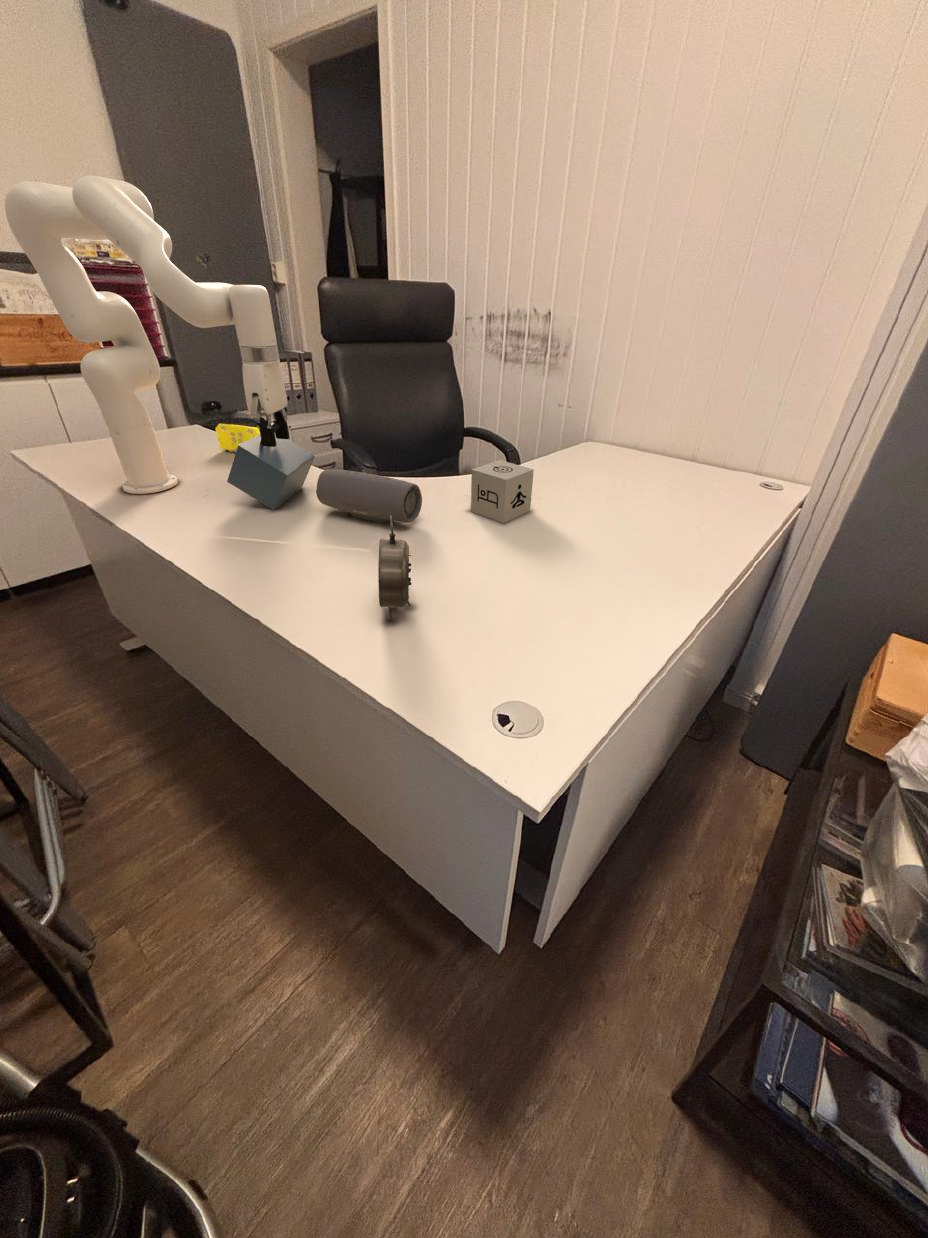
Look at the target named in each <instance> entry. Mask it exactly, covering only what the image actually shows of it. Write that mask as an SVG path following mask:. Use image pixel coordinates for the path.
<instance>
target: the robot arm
mask: <svg viewBox="0 0 928 1238" xmlns="http://www.w3.org/2000/svg"><path fill="white" fill-rule="evenodd" d="M4 209H5V210H4V211H5V217H6V220H7V222H8V225H9V228H10V230H11V232H12V234H13V236H14V238H15V240H16V242H17V243H18V245H19V246H20V248H21V249H22V251H23V253H24V254H25V255H26V257H27V258H28V260H29V261H30V263H31V265H32V266H33V267H34V269H35V271H36V273H37V274H38V276H39V278H40V281H41V282H42V285H43V286H44V288H45V290H46V292H47V294H48V296H49V298H50V300H51V302H52V304H53V306H54V308H55V310H56V311H57V313H58V316H59V317H60V320H61V321H62V324H63V325H64V327H65V328H66V330H67V331H68V333H69V334H70V335H71V336H72V337H73V338H74V339H76V340H77V341H80V342H83V343H101V342H109V341H111V342H112V344H113V346H112V347H103V348H98V349H94V350H92V351H90V352H88V353H86V354H85V355H84V356H83V357H82V359H81V360H80V373H81V375H82V378H83V380H84V383H86V385H87V387H88V389H89V390H90V392H91V394H92V396H93V397H94V400H95V401H96V404H97V406H98V407H99V410H100V412H101V415H102V417H103V419H104V423H105V425H106V427H107V430H108V433H109V436H110V438H111V441H112V443H113V447H114V449H115V452H116V454H117V456H118V459H119V462H120V465H121V468H122V470H123V473H124V476H125V478H126V480H125V481H123V482H122V484H121V487H122V490H123V491H124V492H125V493H127V494H135V495H144V494H145V495H148V494H155V493H160V492H163V491H167V490H170V489H171V488H174V487H175V486H176V485H177V484H178V481H179V480H178V478H177V477H176V475H173V474H169V471H168V467H167V465H166V462H165V458H164V455H163V452H162V449H161V445H160V443H159V440H158V437H157V434H156V431H155V428H154V424H153V422H152V421H153V420H152V419H151V416H150V413H149V411H148V409H147V407H146V405H145V404H144V403H143V401H141V400H140V398H139V397H138V396H137V395H136V393H135V392H138V391H142V390H145V389H149V388H152V387H154V386H156V385H157V384H158V383H159V381H160V379H161V375H162V374H161V368H160V367H161V366H160V363H159V359H158V358H157V355H156V354H155V351H154V349H153V346H152V343H151V342H150V340H149V337H148V335H147V333H146V331H145V329H144V326H143V324H142V322H141V320H140V318H139V316H138V314H137V311H135V309H134V307H132V304H130V303H129V301H128V300H126V299H125V298H124V297H123V296H121V295H120V294H117V293H115V292H111V291H104V290H103V291H96V289H95V287H94V286H93V284H92V281H91V280H90V278H89V276H88V273H87V271H86V270H85V267H84V266H83V264H82V263H81V262H80V260H79V259H78V258H77V257H76V255H75V254H74V253H73V251H71V250H70V248H68V247H67V246H66V245H65V244H64V243H63V242H62V239H72V240H73V239H74V240H88V241H102V240H103V241H104V240H108V241H110V242H111V243H112V244H113V245H115V247H116V248H118V249H119V250H120V251H122V252H123V253H124V254H125V255H126V256H127V257H128V258H129V259H131V260H132V261H133V262H134V263H135V264H137V265H138V267H140V268H141V270H142V273H143V277H144V278H145V280H146V282H147V284H148V285H149V287H150V289H151V291H152V292H153V294H155V296H156V297H157V299H159V300H160V301H161V302H162V303H163V304H164V305H165V306H167V308H169V309H170V310H171V311H172V312H174V313H175V314H176V315H177V316H178V317H180V318H181V319H183V320H184V321H185V322H186V323H188V324H190V325H192V326H194V327H197V328H201V329H209V328H217V327H227V326H233V325H234V326H235V332H236V336H237V337H236V338H237V342H238V347H239V351H240V357H241V362H242V368H241V369H242V383H243V389H244V396H245V403H246V408H247V411H248V413H249V416H250V418H251V419H252V420H253V421H254V423H255V425H256V427H258V428H259V431H260V435H261V440H262V445H263V446H270V447H275V446H276V445H277V444H276V439H275V435H276V438H277V439H289V440H290V433H289V425H288V415H287V412H288V405H289V399H288V396H287V390H286V385H285V380H284V376H283V371H282V368H281V365H280V363H281V359H280V354H279V347H278V341H277V336H276V330H275V324H274V317H273V312H272V306H271V300H270V295H269V292H268V289H266V287H264V286H262V285H259V284H258V285H257V284H232V283H226V282H195V281H194V280H193V279H191V278H189V277H188V275H186V274H185V273H184V272H183V271H182V270H181V269H179V268H178V267H177V266H176V265H175V264H174V263H172V261H171V260H170V259H171V257H172V253H173V242H172V239H171V236H170V235H169V233H168V232H167V231H166V230H165V228H163V227H162V226H161V225H159V224H158V223H157V222H156V221H155V217H154V216H155V215H154V211H153V208H152V205H151V202H149V200H148V198H147V196H146V195H145V194H144V193H143V191H142V190H140V189H139V188H138V187H136V186H135V185H134V184H132V183H129V182H128V181H124V180H120V179H114V178H110V177H105V176H99V175H93V174H92V175H84V176H81V177H80V178H78V179H77V180H76V181H75V182H74V184H73V186H66V185H65V186H64V185H59V184H54V183H49V182H43V181H29V180H28V181H20V182H16V183H15V184H13V185H11V186H10V187H9V189H8V191H7V192H6V194H5V199H4ZM262 411H263V412H262ZM264 417H265V418H264ZM272 417H273V419H274V420H272ZM273 422H276V423H278V424H279V430H278V431H276V432H275V434H274V428H271V423H273Z"/></svg>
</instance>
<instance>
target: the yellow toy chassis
mask: <svg viewBox="0 0 928 1238" xmlns="http://www.w3.org/2000/svg"><path fill="white" fill-rule="evenodd" d="M214 429H215V434H216V437H217V440H218V445H219V448H220V450H228V452H229V453H236V451H237V448H238V445H240V444H242V443H243V442H245V441H247V440H249V439H251V438H253V437H255V436H257V435H259V434H260V431H259V428H258V427H257V426H256V427H255V426H247V425H239V424H226V423H218V424H217V426H216V427H215V428H214Z"/></svg>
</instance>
